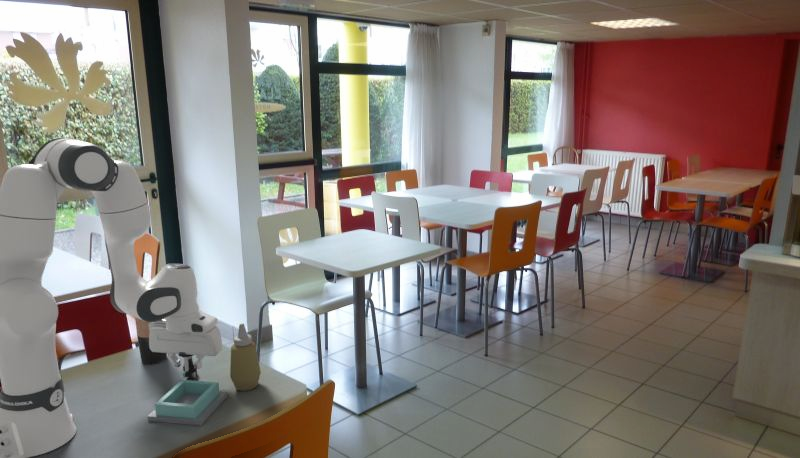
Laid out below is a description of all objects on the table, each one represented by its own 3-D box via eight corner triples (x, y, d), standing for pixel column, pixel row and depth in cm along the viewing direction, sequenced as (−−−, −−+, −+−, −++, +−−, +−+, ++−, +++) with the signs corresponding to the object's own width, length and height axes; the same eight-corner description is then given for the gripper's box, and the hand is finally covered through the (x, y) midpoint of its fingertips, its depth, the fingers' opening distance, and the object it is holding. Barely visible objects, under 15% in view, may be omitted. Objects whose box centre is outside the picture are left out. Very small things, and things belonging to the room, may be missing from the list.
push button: (194, 385, 158) (190, 351, 156) (174, 384, 158) (171, 351, 156) (202, 373, 164) (199, 341, 162) (184, 373, 164) (181, 340, 162)
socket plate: (148, 420, 141) (146, 405, 140) (178, 391, 154) (177, 377, 153) (201, 425, 139) (199, 409, 138) (227, 396, 152) (226, 381, 151)
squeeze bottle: (243, 396, 152) (238, 333, 147) (224, 387, 156) (219, 325, 152) (267, 384, 158) (263, 323, 154) (248, 376, 163) (244, 316, 158)
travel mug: (172, 353, 177) (165, 292, 172) (159, 365, 170) (152, 301, 165) (148, 353, 178) (141, 291, 173) (135, 364, 170) (127, 300, 166)
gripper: (141, 323, 156) (147, 369, 159) (211, 327, 152) (216, 375, 156) (154, 314, 162) (160, 359, 165) (222, 318, 158) (226, 364, 162)
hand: (187, 367), depth 160 cm, fingers closed on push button, 5 cm apart
